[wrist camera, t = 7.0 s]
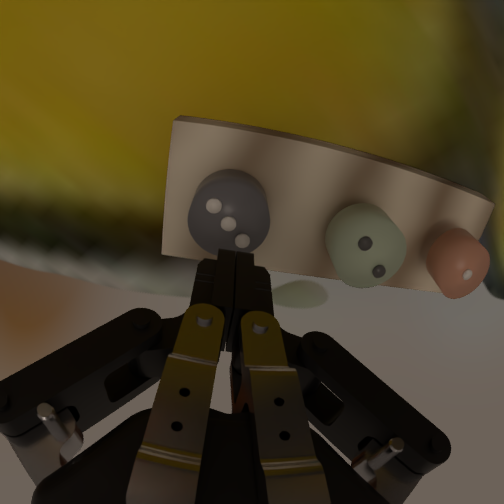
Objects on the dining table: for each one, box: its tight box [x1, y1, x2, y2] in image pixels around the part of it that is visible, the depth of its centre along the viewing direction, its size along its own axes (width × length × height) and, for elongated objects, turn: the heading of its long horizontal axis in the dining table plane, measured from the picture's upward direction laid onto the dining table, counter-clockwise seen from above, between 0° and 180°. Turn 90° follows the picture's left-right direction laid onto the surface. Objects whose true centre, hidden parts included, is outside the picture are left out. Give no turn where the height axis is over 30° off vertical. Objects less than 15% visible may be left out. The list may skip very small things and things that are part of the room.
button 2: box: [325, 203, 407, 288], centre depth 18 cm, size 4×4×3 cm
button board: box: [162, 115, 495, 293], centre depth 21 cm, size 24×9×2 cm, turn 79°
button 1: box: [426, 228, 490, 299], centre depth 19 cm, size 4×4×3 cm
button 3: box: [187, 169, 270, 256], centre depth 18 cm, size 4×4×3 cm
